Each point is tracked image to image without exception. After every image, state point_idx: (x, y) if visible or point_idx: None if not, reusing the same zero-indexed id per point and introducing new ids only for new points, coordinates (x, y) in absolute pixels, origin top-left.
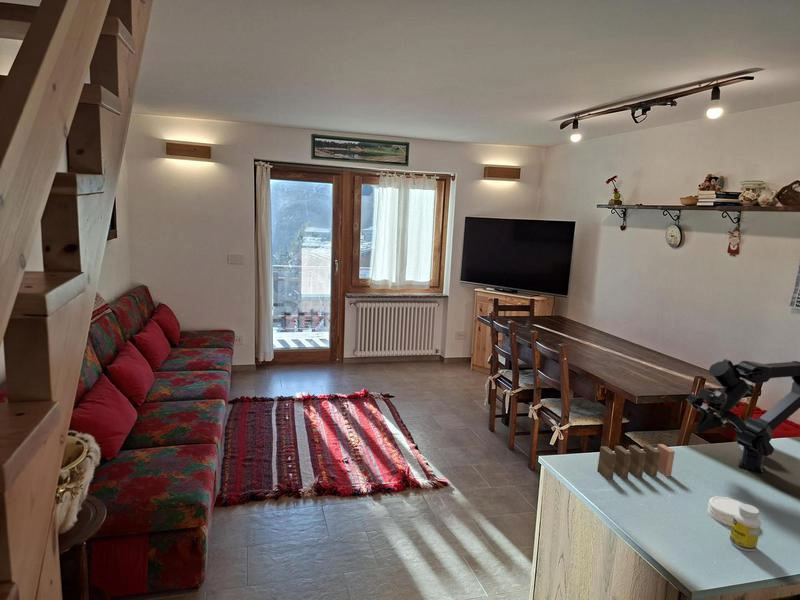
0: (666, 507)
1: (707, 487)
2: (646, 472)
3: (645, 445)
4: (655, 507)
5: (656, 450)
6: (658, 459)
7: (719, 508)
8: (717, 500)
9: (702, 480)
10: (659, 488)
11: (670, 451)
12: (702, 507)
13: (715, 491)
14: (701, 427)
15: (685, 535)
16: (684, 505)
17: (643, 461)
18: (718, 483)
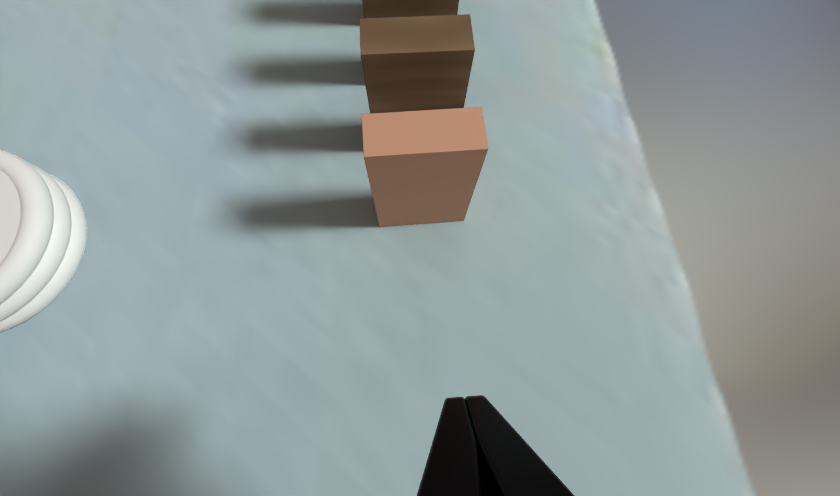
0: (141, 44)
1: (245, 346)
2: None
3: (459, 18)
4: (152, 8)
5: (383, 42)
6: (366, 87)
7: None
8: (4, 201)
9: (317, 375)
10: (275, 101)
11: (363, 124)
12: (99, 185)
13: (201, 362)
14: (429, 462)
15: None
16: (134, 119)
17: (364, 14)
18: (274, 457)
